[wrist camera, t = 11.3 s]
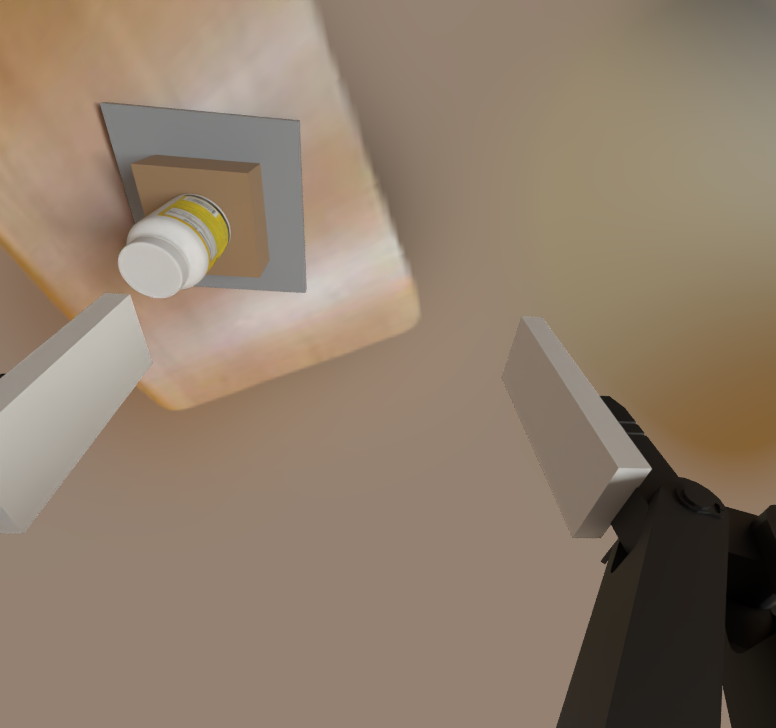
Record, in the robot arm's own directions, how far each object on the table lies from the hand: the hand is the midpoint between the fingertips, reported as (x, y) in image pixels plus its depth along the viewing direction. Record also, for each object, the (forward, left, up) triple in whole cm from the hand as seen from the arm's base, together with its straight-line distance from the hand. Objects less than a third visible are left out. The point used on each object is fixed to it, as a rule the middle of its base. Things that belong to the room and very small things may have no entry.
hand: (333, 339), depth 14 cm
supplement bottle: (+4, -13, -23) cm, 27 cm away
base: (+4, -13, -29) cm, 32 cm away
